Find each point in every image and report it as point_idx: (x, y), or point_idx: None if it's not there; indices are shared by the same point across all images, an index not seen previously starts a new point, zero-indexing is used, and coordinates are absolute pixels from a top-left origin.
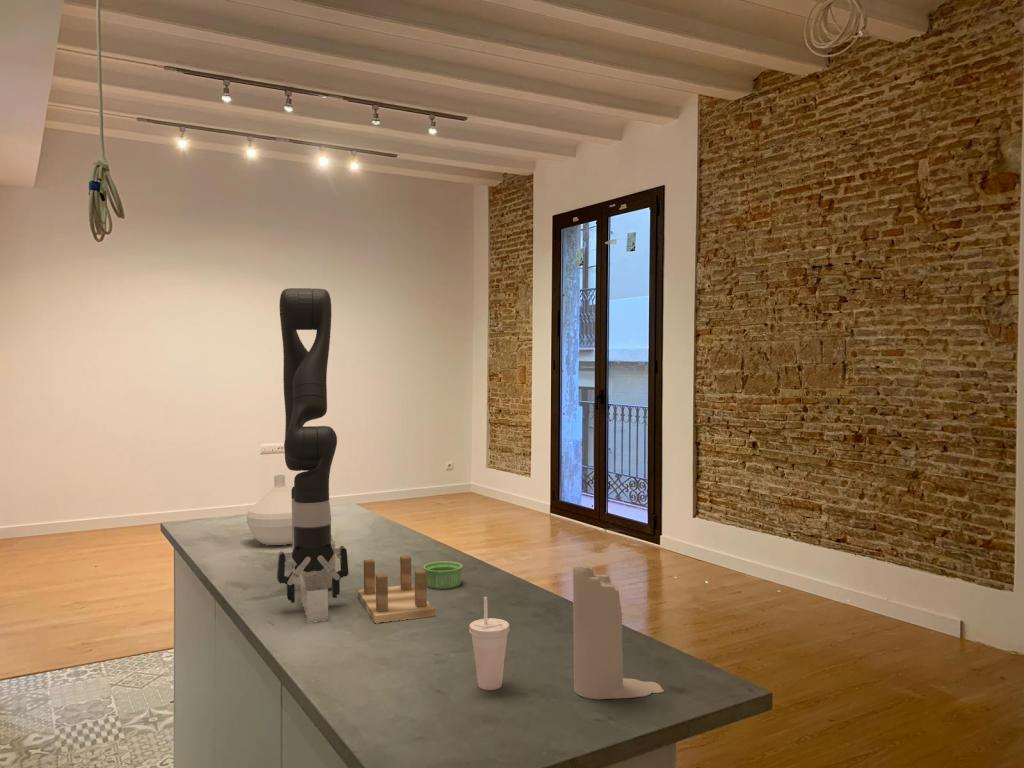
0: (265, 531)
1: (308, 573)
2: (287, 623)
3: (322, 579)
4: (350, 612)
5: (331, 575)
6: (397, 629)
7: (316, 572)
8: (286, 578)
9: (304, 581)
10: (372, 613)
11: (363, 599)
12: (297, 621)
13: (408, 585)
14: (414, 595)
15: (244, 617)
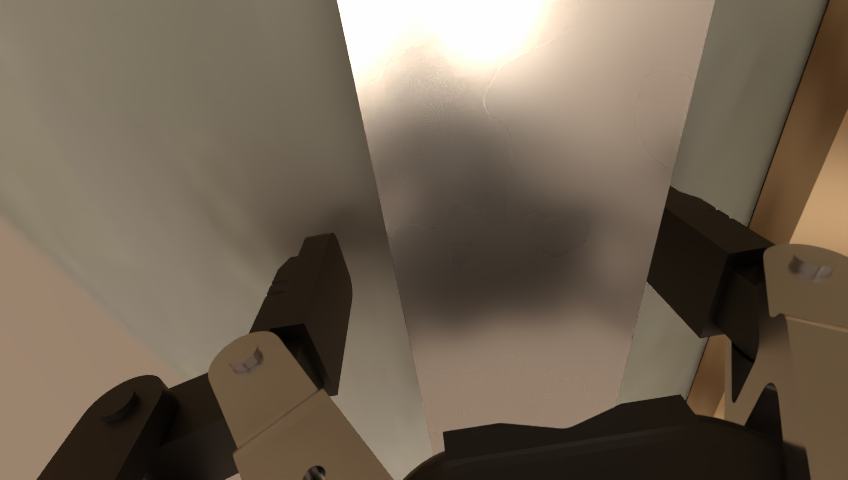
0: None
1: (479, 96)
2: (349, 380)
3: (608, 389)
4: (645, 296)
5: (725, 395)
6: None
7: (624, 60)
8: (237, 469)
9: (430, 415)
10: (710, 407)
11: (789, 229)
12: (391, 365)
13: None
14: None
15: (75, 283)
